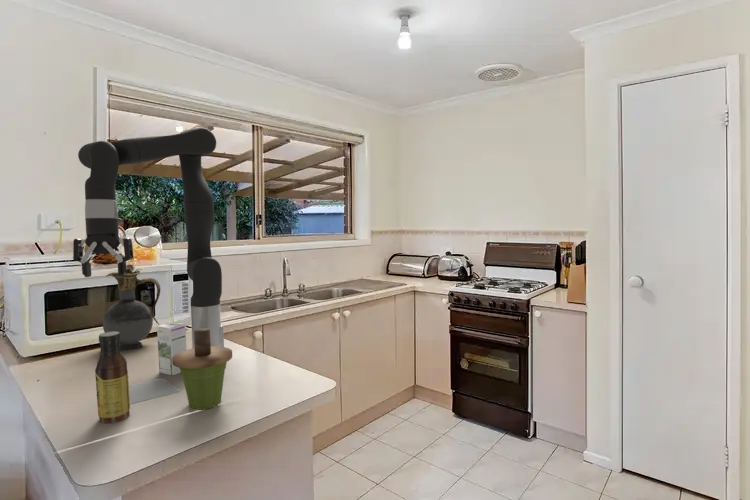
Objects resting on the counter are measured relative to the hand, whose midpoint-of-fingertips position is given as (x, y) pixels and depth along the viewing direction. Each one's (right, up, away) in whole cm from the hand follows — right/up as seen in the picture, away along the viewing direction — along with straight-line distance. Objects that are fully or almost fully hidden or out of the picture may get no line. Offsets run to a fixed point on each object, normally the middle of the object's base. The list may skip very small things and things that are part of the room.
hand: (104, 276), depth 118 cm
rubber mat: (+13, -30, -5) cm, 33 cm away
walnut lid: (+32, -19, -13) cm, 40 cm away
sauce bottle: (+15, -31, -20) cm, 40 cm away
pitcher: (-14, -28, +40) cm, 51 cm away
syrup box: (+14, -30, +11) cm, 34 cm away
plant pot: (+32, -31, -13) cm, 46 cm away
